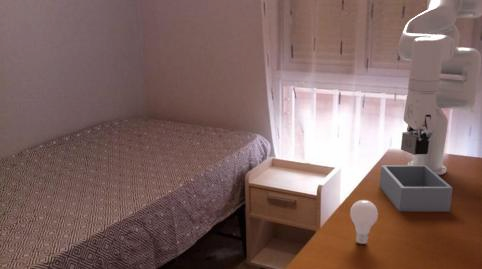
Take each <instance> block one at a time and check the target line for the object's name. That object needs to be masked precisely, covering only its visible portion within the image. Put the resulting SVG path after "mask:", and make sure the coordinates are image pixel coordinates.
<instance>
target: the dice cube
mask: <svg viewBox="0 0 482 269" xmlns="http://www.w3.org/2000/svg"><path fill="white" fill-rule="evenodd" d="M401 134H402V135H401V145H400V150H401V151H403V152H406V153H409V154H411V155H417V154H415V147H416V140H418V131H417V130H414V131H408V132H407V131H403V132H402V133H401ZM422 134H423V132H421V135H422ZM428 149H429V145H428Z"/></svg>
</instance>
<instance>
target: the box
mask: <svg viewBox="0 0 482 269" xmlns="http://www.w3.org/2000/svg"><path fill="white" fill-rule="evenodd" d="M379 176H380V177H379V188H380V189H381V190H382V192H383V193H384V194H385V195H386V197H387V198H388V199H389V201H390V202H391V203H392V205H393V206H394V207H395V208H396V210H397V211H398V212H400V213H401V212H403V213H404V212H406V213H407V212H416V213H417V212H420V213H421V212H426V213H429V212H431V213H432V212H437V213H438V212H442V213H443V212H444V213H445V212H450V210H451V204H452V196H453V189H454V188H453V186H452V185H451V184H449V183H448V182H446V181H445V180H444V179H443V178H442V177H441V176H440V175H437V174H436V173H435V172H434V171H432V170H431V169H430V168H429V167H428V166H427V165H408V164H407V165H406V164H404V165H403V164H400V165H399V164H398V165H397V164H392V165H390V164H389V165H388V164H387V165H386V164H385V165H383V164H381V165H380V175H379Z"/></svg>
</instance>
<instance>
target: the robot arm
mask: <svg viewBox="0 0 482 269" xmlns="http://www.w3.org/2000/svg"><path fill="white" fill-rule="evenodd" d="M426 7H427V8H426V9H427V10H425V11H423V12H421V13H419V14H418V15H416V16H415V17H413V18H411V19H410V20H409V21H408V22H407V23H406V24H405V26H404V27H403V29H402V32H401V36H400V38H399V40H398V46H397V52H398V56H399V57H400V59H401V60H403V61H407V62H410V66H409V75H408V76H409V77H408V84H407V86H408V87H407V94H406V100H405V104H404V105H405V106H404V111H403V121H404V123H406V124H407V128H406V132H408V131H414V130H417V131H418V140H416V147H415V154H417V155H413V154H412V155H413V156H412V160H411V161H409V162H407V165H427V166H428V167H429V168H430V169H431V170H432V171H434V172H435V173H436V174H437V175H438V176H442V175H444V174H446V173H447V167H446V166H445V165H444V164H443V162H444V154H445V148H446V146H445V145H446V142H447V140H446V139H447V132H448V125H449V121H448V118H447V116H446V114H445V113H444V111H443V109H449V110H457V111H458V110H461V111H468V110H471V109H473V107H474V106H475V103H476V99H477V93H478V88H479V80H480V73H481V68H482V67H481V66H482V55H481V52H480V51H479V50H478V49H476V48H474V47H462V46H461V47H459V43H460V37H461V33H460V31H459V29H458V27H457V25H455V24H456V21H457V19H478V18H480V17H482V0H427V5H426ZM441 76H443V77H452V78H453V77H455V78H461V79H452V78H442V77H441ZM421 132H423V134H422V135H421ZM428 145H429V149H428Z"/></svg>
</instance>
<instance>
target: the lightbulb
mask: <svg viewBox="0 0 482 269" xmlns="http://www.w3.org/2000/svg"><path fill="white" fill-rule="evenodd" d="M349 216H350V218H351V221H352V223H353V224H354V227H355V228H354V229H355V232H356V237H355V238H356V239H355V241H356V243H358V244H359V245H364V244H367V243H368V239H369V233H370V231H371V228H372V227H373V226H374V224H375V223H376V222H377V221H378V218H379V211H378V207H377V206H376V205H375V203H373V202H372V201H370V200H368V199H359V200H357V201H355V202H354V203H353V204H352V206H351V207H350V211H349Z"/></svg>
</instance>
